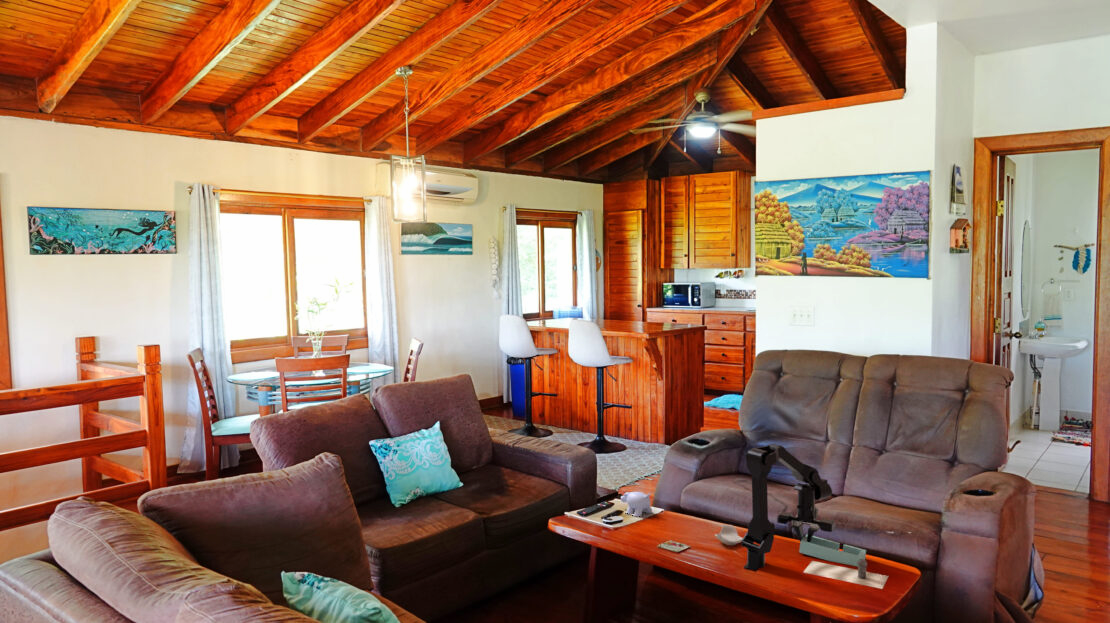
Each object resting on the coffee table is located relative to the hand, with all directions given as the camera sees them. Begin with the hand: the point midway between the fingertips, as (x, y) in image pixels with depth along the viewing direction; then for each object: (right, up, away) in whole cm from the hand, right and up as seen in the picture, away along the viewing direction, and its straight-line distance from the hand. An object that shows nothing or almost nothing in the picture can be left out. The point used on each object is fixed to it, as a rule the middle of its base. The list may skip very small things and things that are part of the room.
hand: (805, 545), depth 260 cm
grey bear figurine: (-55, -2, +48) cm, 73 cm away
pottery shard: (-24, -3, +11) cm, 27 cm away
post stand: (+6, -4, -20) cm, 22 cm away
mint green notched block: (+8, -2, -5) cm, 9 cm away
